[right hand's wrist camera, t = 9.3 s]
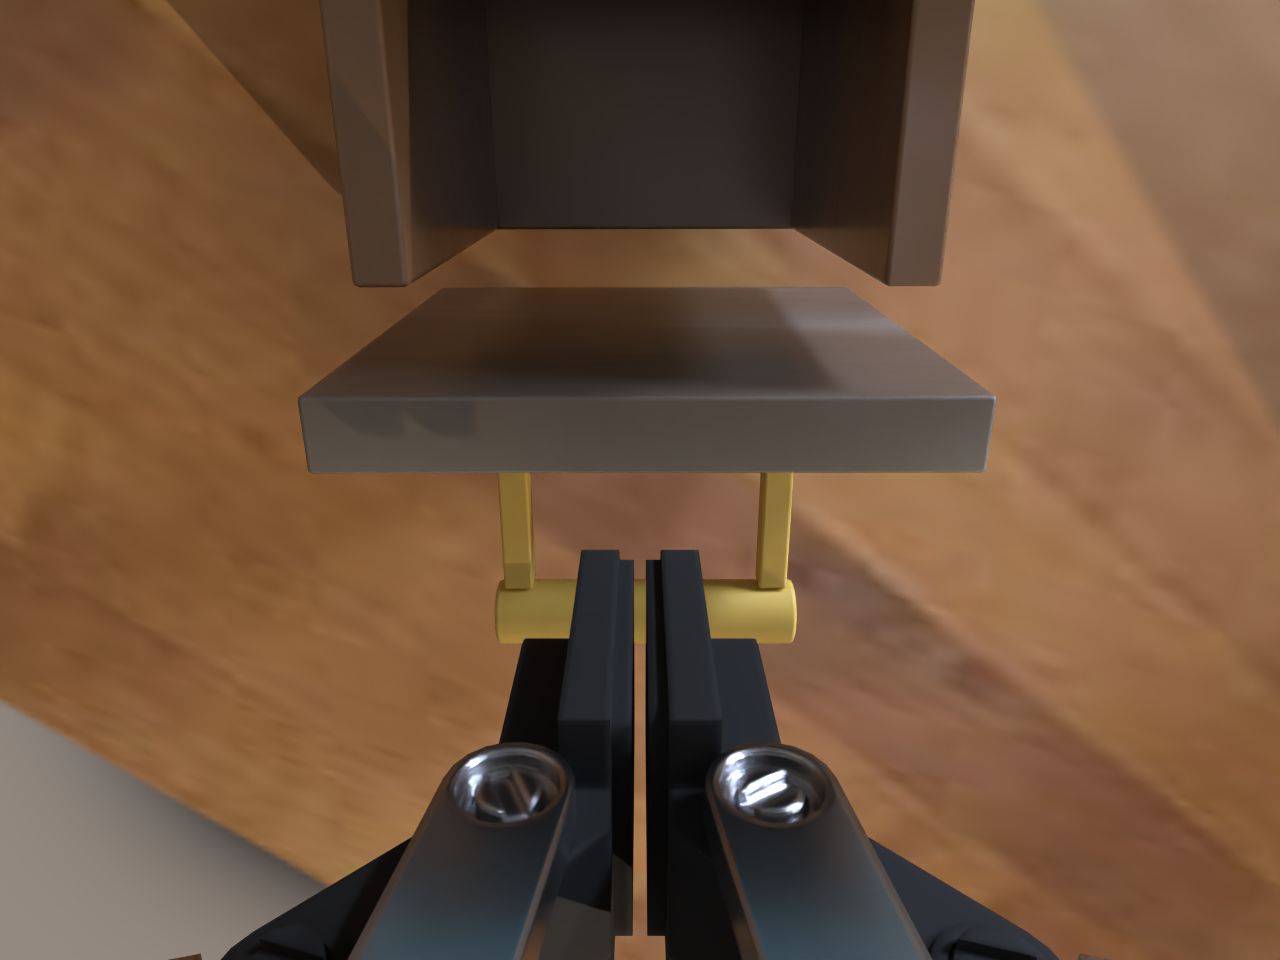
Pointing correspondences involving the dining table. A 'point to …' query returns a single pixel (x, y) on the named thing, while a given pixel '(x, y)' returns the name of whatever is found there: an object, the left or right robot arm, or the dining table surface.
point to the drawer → (646, 199)
